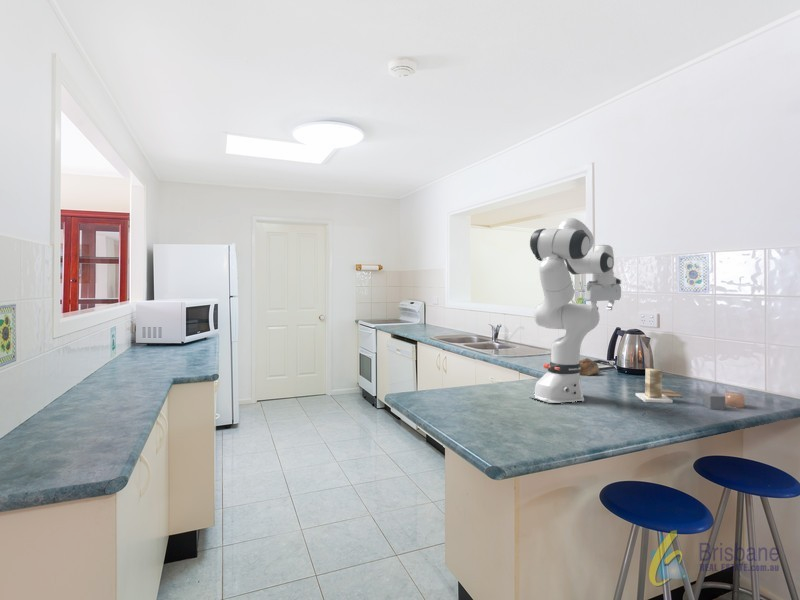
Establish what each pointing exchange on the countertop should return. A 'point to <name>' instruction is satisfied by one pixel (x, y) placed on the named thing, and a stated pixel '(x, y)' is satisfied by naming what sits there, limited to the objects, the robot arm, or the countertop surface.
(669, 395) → the walnut board
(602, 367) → the sketchbook
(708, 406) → the grey cube
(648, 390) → the beech block
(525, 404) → the countertop surface
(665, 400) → the tile
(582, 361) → the stone
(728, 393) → the orange block
